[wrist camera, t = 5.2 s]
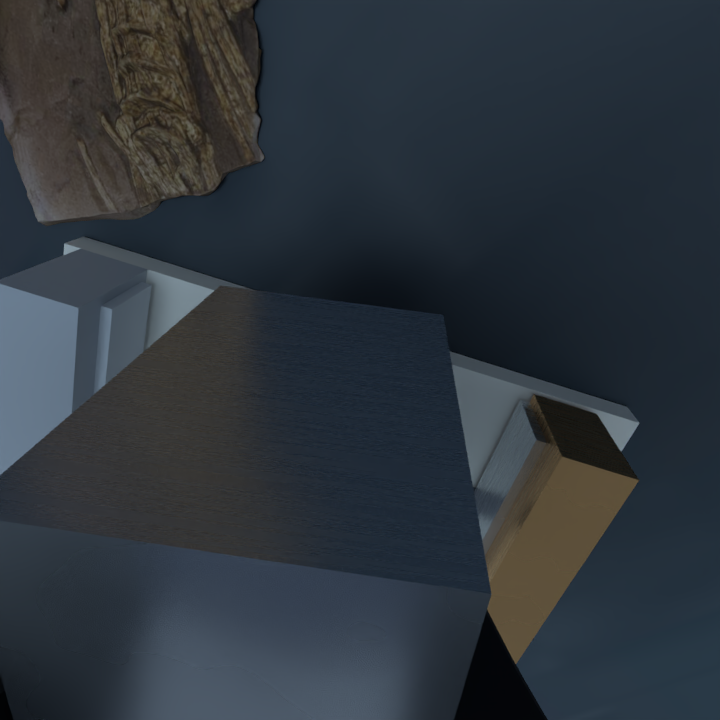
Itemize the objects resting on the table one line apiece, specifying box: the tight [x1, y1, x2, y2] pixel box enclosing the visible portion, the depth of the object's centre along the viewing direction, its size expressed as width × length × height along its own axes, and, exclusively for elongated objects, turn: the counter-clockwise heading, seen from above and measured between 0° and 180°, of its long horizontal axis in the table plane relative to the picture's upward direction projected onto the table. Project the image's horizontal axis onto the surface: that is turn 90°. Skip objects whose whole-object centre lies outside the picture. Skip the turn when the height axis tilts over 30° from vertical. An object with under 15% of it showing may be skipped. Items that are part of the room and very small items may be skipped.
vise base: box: [0, 237, 639, 491], centre depth 16 cm, size 18×9×4 cm, turn 73°
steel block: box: [0, 286, 491, 720], centre depth 8 cm, size 4×8×6 cm, turn 174°
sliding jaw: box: [474, 394, 639, 664], centre depth 16 cm, size 2×9×3 cm, turn 163°
